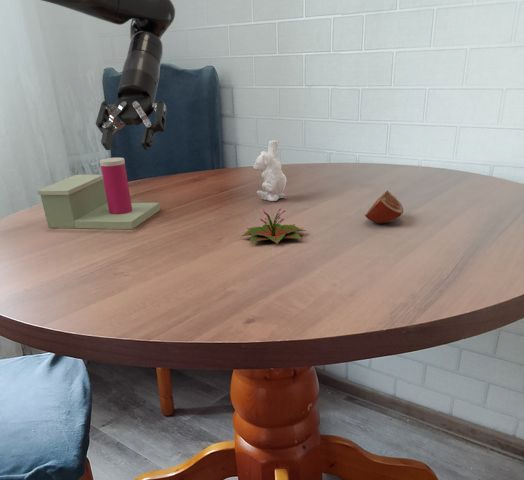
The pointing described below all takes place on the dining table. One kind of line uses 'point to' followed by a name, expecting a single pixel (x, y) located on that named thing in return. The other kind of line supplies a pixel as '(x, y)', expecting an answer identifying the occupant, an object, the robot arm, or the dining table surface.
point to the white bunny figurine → (271, 173)
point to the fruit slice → (385, 209)
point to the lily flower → (273, 230)
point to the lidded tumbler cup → (116, 185)
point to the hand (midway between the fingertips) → (125, 147)
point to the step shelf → (88, 205)
